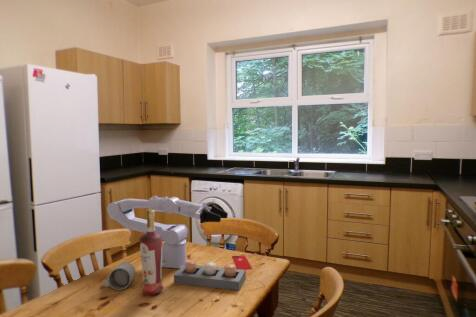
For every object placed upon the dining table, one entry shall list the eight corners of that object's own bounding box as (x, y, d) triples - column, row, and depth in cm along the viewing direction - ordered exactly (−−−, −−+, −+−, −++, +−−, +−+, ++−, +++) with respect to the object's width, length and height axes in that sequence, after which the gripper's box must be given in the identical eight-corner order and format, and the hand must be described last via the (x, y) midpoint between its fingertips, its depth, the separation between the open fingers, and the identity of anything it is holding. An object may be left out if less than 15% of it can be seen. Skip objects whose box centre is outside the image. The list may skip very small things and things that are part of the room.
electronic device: (252, 270, 129) (244, 256, 144) (252, 268, 129) (244, 255, 144) (238, 271, 128) (231, 257, 143) (238, 270, 128) (231, 256, 143)
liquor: (168, 290, 112) (166, 209, 110) (152, 299, 105) (149, 214, 103) (153, 285, 116) (150, 207, 114) (136, 294, 109) (133, 211, 107)
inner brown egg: (183, 272, 119) (183, 264, 119) (188, 267, 123) (187, 260, 123) (193, 273, 118) (193, 265, 118) (198, 268, 122) (197, 261, 122)
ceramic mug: (136, 279, 121) (135, 259, 120) (131, 289, 112) (129, 268, 112) (107, 281, 120) (106, 260, 119) (99, 291, 112) (98, 269, 111)
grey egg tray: (173, 283, 117) (173, 274, 117) (185, 271, 127) (185, 264, 127) (239, 290, 111) (238, 281, 111) (245, 277, 121) (245, 269, 121)
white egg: (203, 274, 117) (202, 266, 117) (206, 269, 121) (206, 261, 121) (213, 275, 116) (213, 267, 116) (217, 270, 120) (217, 262, 120)
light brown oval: (223, 276, 116) (223, 267, 115) (226, 271, 119) (226, 263, 119) (234, 277, 115) (234, 268, 114) (237, 272, 118) (236, 264, 118)
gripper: (185, 202, 123) (218, 210, 119) (201, 197, 137) (231, 204, 133) (182, 220, 124) (215, 229, 120) (198, 214, 138) (228, 221, 134)
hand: (223, 217), depth 126 cm, fingers open, 7 cm apart
